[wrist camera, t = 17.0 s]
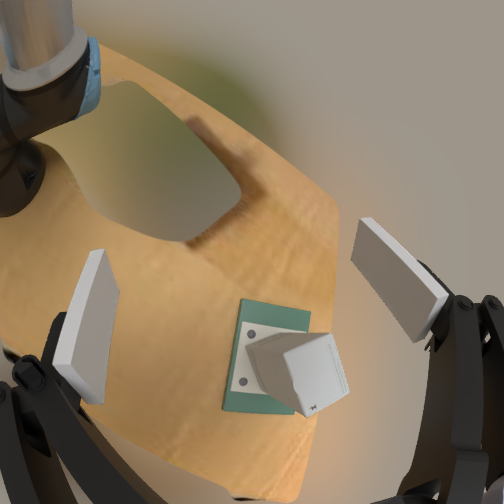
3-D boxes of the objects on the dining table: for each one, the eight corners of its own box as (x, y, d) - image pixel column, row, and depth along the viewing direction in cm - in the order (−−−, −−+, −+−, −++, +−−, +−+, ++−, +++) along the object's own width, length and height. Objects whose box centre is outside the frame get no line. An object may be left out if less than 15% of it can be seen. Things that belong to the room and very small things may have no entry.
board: (290, 412, 42) (294, 415, 41) (221, 408, 39) (223, 411, 38) (307, 312, 47) (311, 311, 46) (240, 299, 44) (243, 298, 43)
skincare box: (294, 376, 42) (353, 394, 28) (258, 392, 40) (306, 422, 25) (279, 329, 43) (335, 330, 29) (241, 343, 41) (283, 354, 27)
